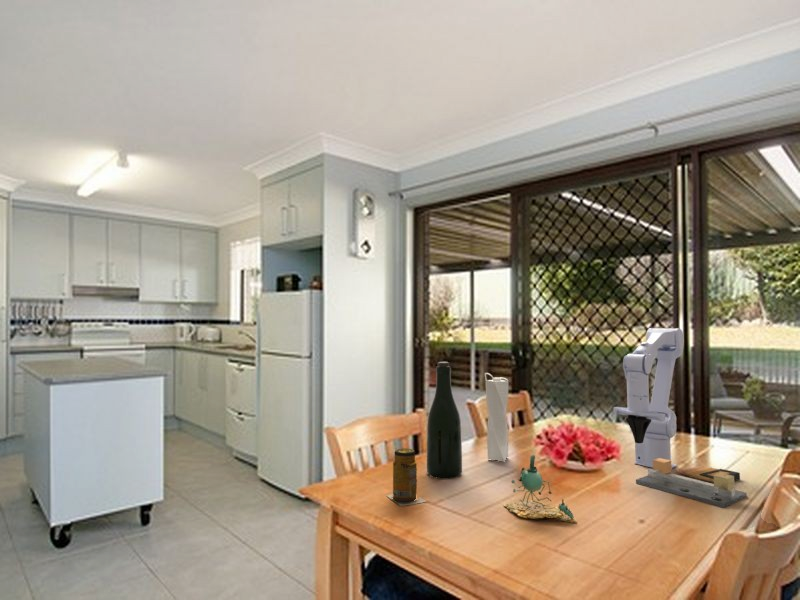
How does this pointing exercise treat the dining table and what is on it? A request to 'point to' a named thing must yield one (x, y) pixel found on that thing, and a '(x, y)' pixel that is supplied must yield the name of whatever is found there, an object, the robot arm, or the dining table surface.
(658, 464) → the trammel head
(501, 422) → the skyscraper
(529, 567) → the dining table surface
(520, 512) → the green creature figurine
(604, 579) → the dining table surface
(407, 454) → the condiment
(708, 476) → the ammunition clip
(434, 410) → the dark green wine bottle
